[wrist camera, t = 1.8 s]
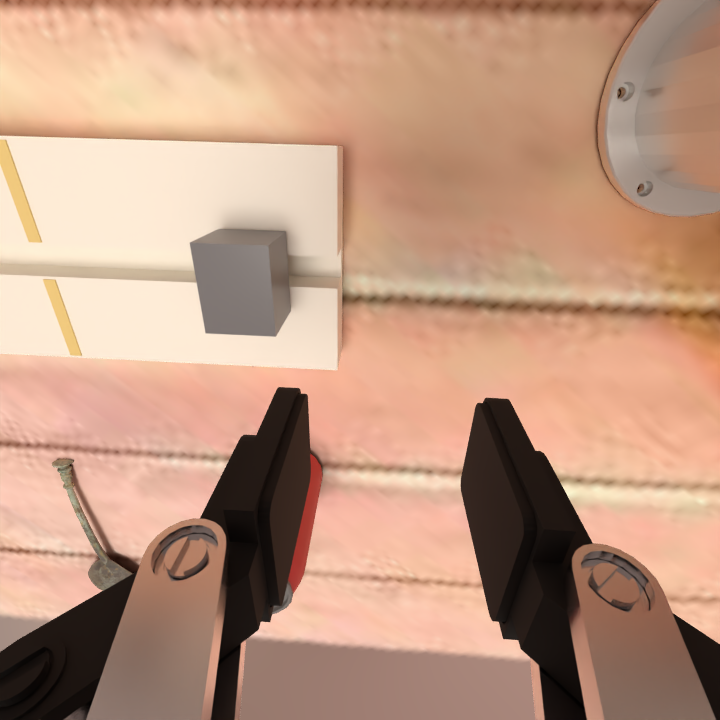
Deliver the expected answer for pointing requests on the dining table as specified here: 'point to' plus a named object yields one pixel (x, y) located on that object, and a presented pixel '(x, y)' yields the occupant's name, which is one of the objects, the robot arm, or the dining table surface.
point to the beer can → (303, 534)
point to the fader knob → (242, 281)
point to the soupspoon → (91, 536)
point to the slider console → (162, 247)
